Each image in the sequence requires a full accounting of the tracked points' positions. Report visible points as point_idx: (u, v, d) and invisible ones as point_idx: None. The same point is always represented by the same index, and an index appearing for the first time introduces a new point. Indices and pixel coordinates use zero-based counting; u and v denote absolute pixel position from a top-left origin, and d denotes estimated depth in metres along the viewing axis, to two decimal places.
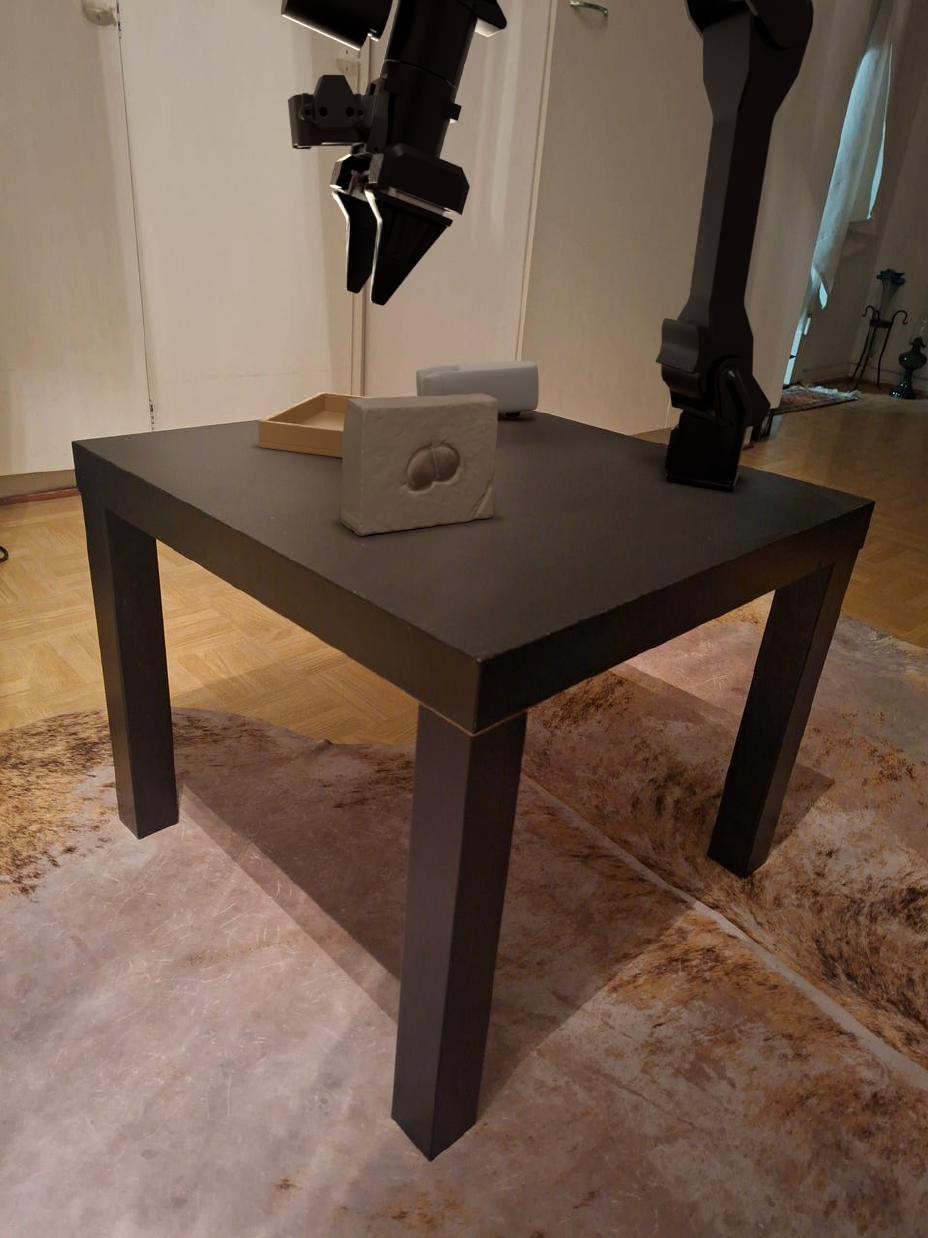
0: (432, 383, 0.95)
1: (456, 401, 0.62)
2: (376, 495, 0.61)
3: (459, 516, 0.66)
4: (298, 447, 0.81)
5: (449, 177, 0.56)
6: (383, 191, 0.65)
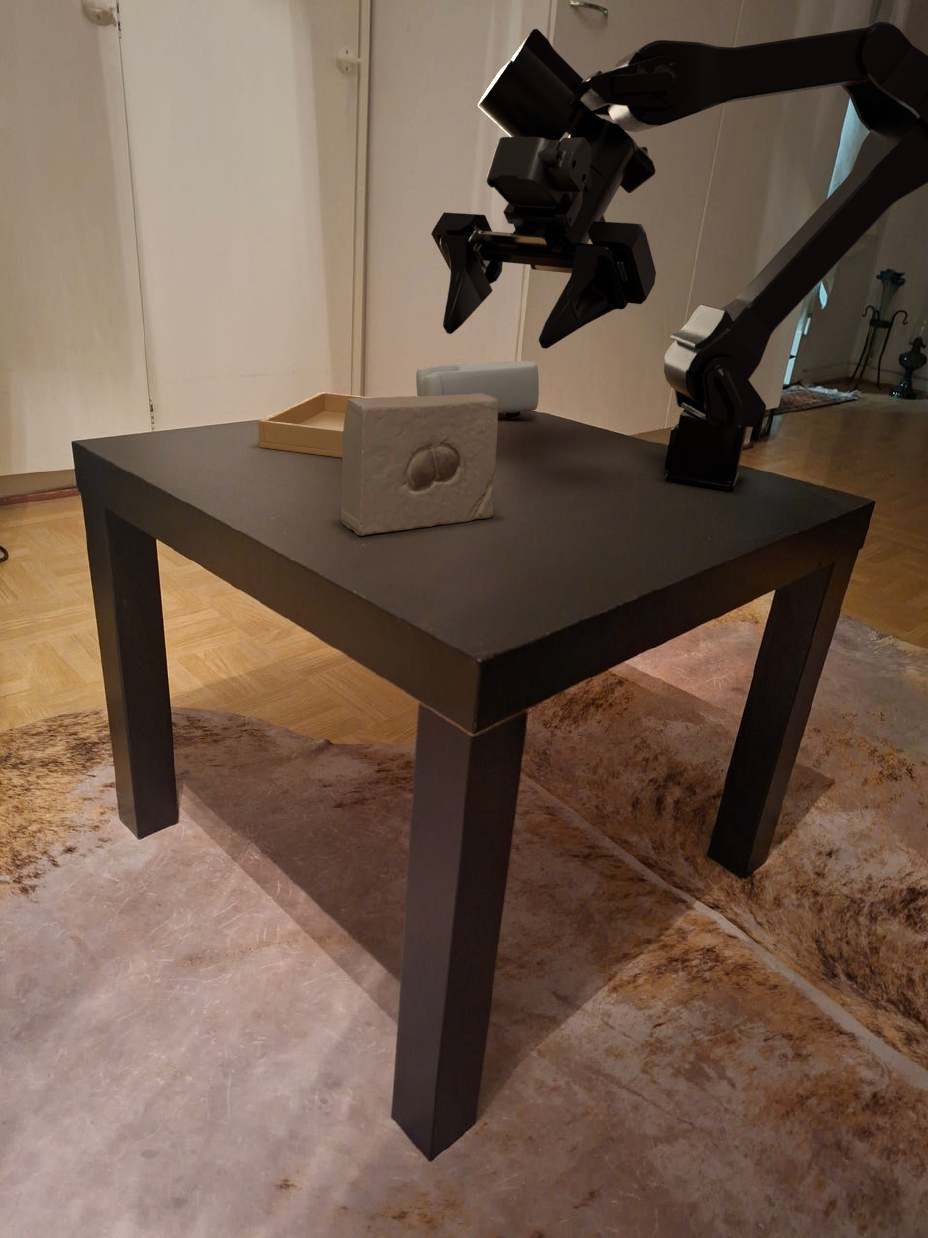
0: (432, 383, 0.95)
1: (456, 401, 0.62)
2: (376, 495, 0.61)
3: (459, 516, 0.66)
4: (298, 447, 0.81)
5: (652, 270, 0.64)
6: (520, 257, 0.68)
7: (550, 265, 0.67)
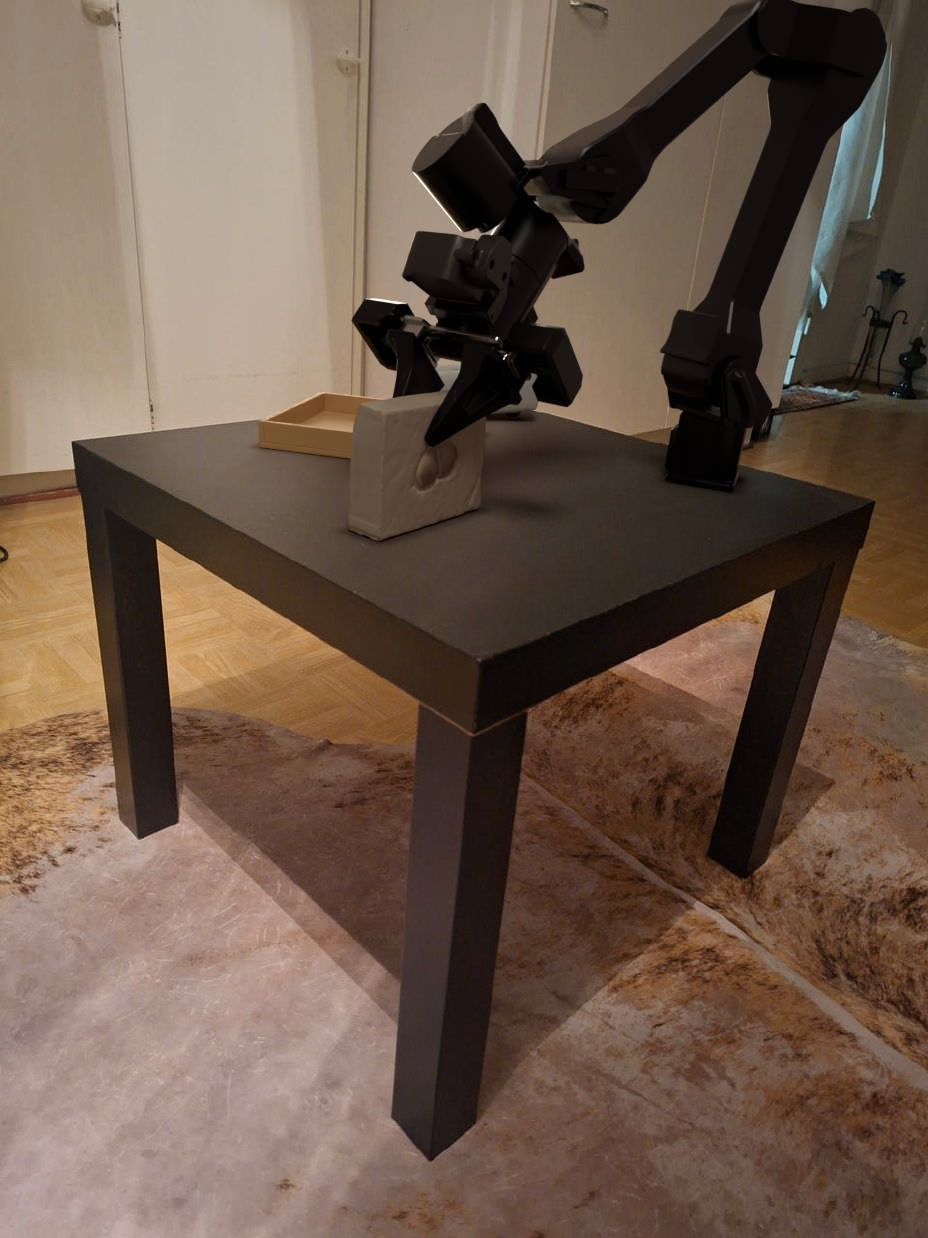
0: None
1: None
2: (392, 498, 0.60)
3: (455, 510, 0.67)
4: (298, 447, 0.81)
5: (578, 373, 0.60)
6: (443, 351, 0.64)
7: (445, 355, 0.65)
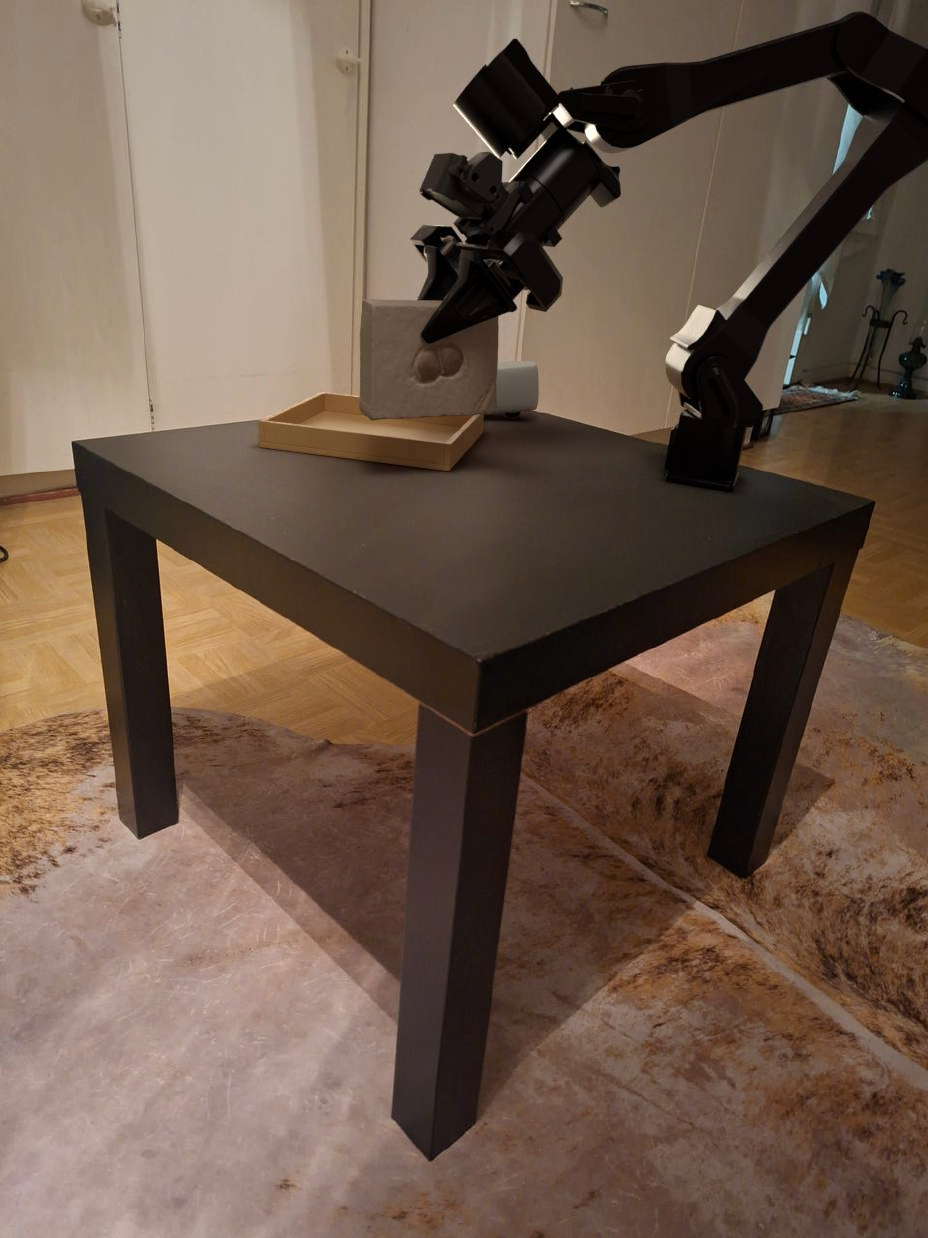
0: None
1: None
2: (386, 384, 0.71)
3: (463, 409, 0.75)
4: (298, 447, 0.81)
5: (553, 278, 0.65)
6: None
7: None
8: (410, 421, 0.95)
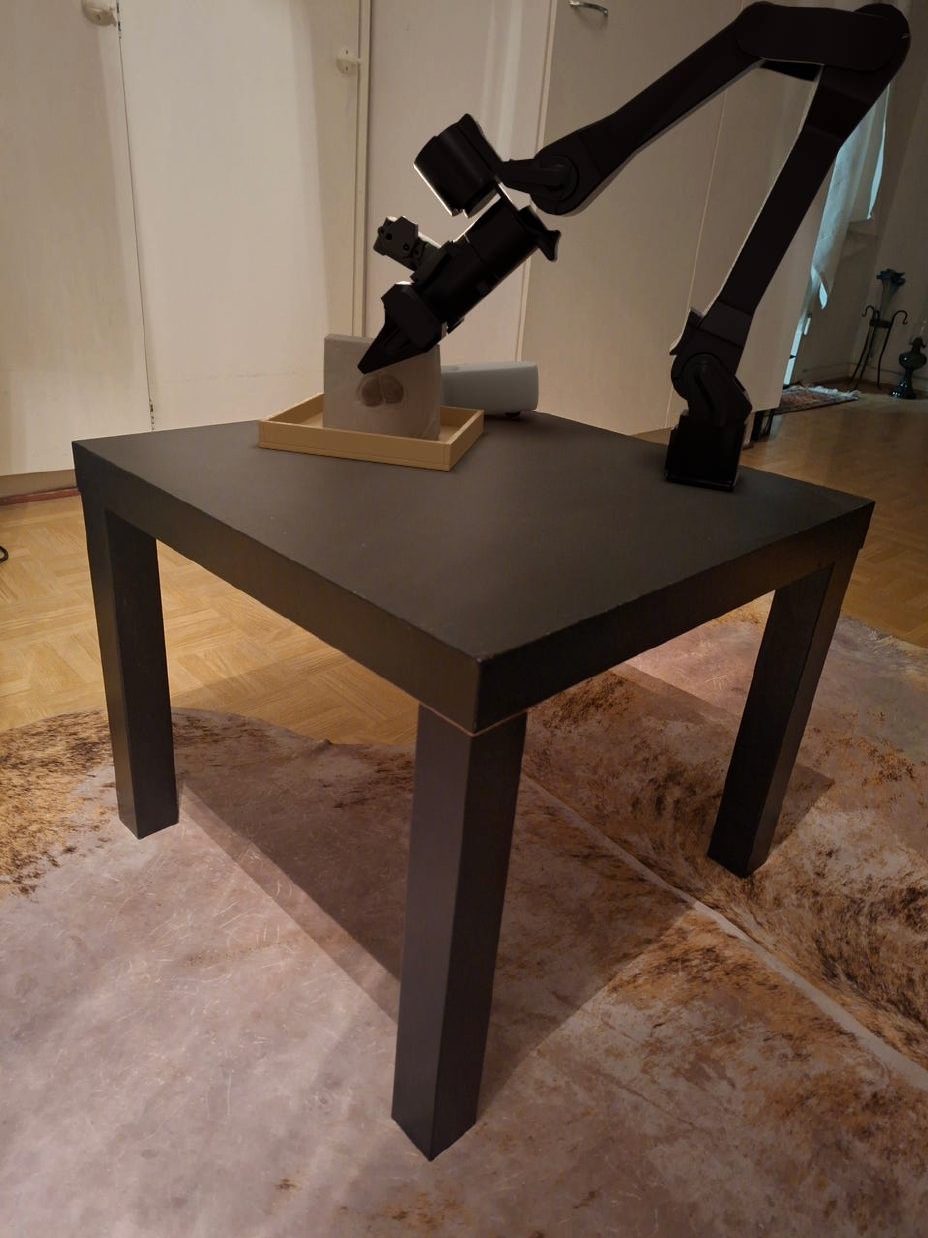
0: None
1: None
2: (334, 403, 0.86)
3: (403, 434, 0.86)
4: (298, 447, 0.81)
5: (427, 324, 0.74)
6: None
7: None
8: None
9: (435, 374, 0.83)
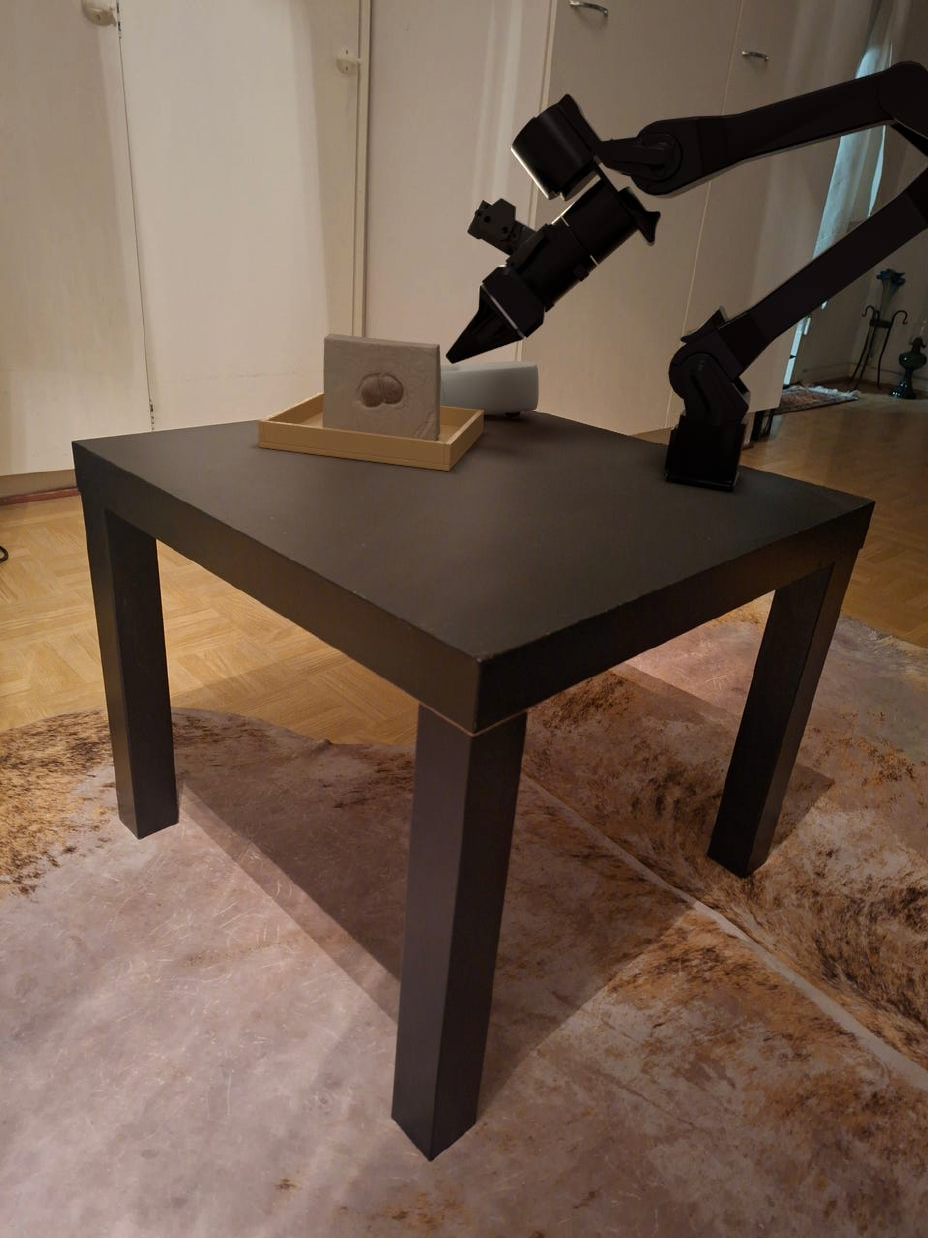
0: None
1: (403, 344, 0.83)
2: (334, 403, 0.86)
3: (403, 434, 0.86)
4: (298, 447, 0.81)
5: (529, 308, 0.72)
6: None
7: None
8: None
9: (435, 374, 0.83)
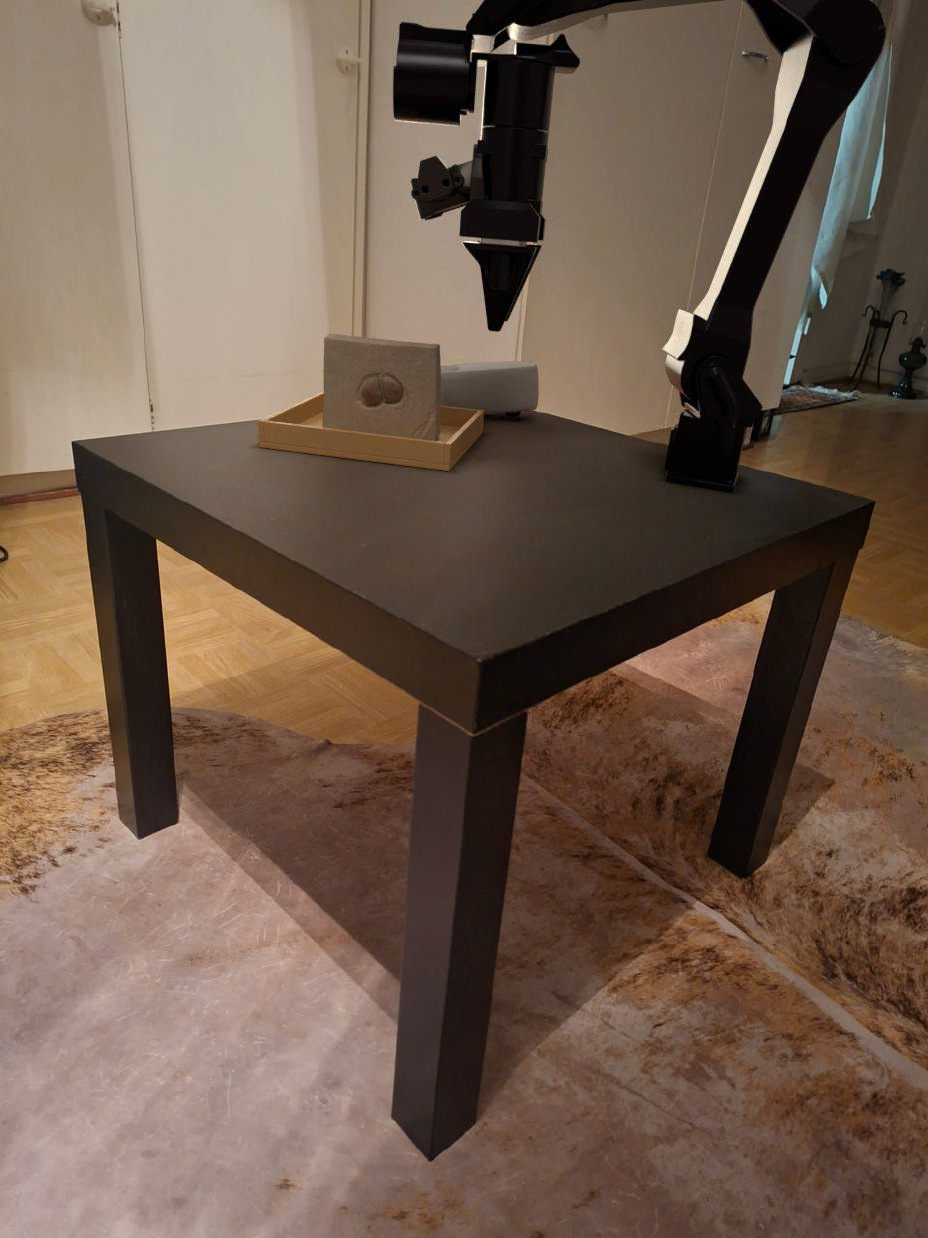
0: None
1: (403, 344, 0.83)
2: (334, 403, 0.86)
3: (403, 434, 0.86)
4: (298, 447, 0.81)
5: (516, 214, 0.65)
6: None
7: None
8: None
9: (435, 374, 0.83)
